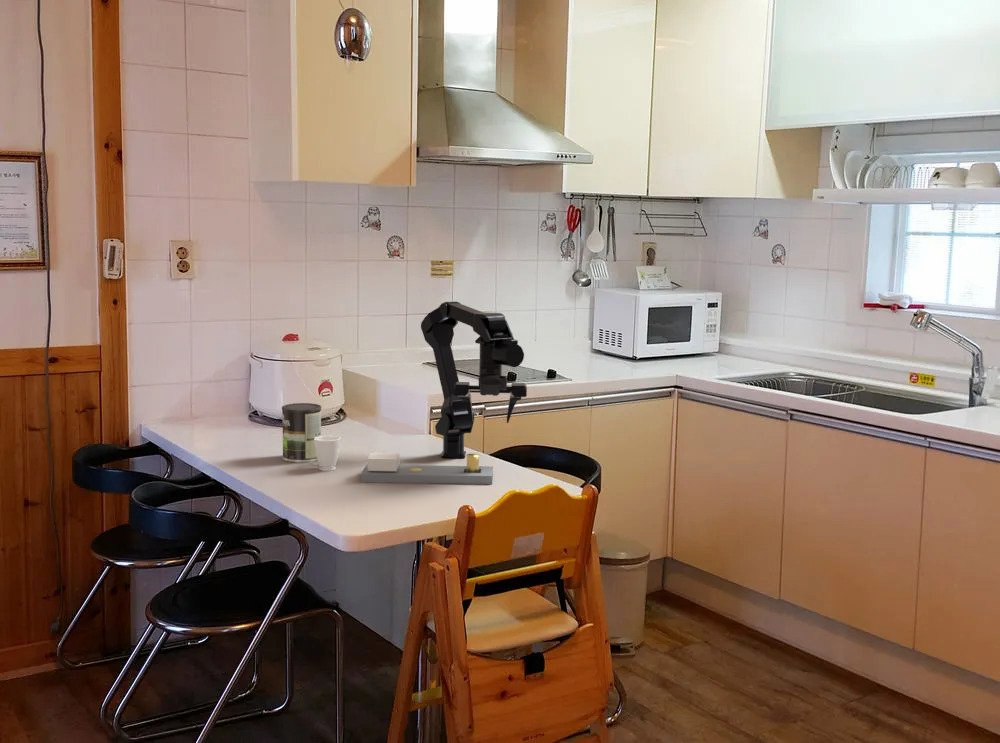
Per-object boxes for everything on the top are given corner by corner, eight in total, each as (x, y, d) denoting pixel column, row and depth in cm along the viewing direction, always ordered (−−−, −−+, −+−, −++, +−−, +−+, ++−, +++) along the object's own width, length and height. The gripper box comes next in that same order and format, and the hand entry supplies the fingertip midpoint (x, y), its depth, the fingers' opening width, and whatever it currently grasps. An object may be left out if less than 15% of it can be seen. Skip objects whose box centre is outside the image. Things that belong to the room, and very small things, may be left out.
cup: (318, 473, 258) (318, 441, 257) (306, 464, 267) (306, 434, 266) (345, 470, 262) (345, 439, 261) (332, 462, 270) (332, 432, 269)
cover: (371, 464, 259) (371, 452, 258) (399, 464, 258) (399, 453, 258) (367, 470, 252) (367, 458, 251) (396, 471, 252) (396, 459, 251)
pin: (466, 477, 257) (467, 453, 256) (478, 477, 257) (479, 453, 256) (466, 480, 254) (466, 456, 253) (478, 480, 254) (478, 456, 253)
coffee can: (285, 464, 268) (285, 410, 266) (279, 455, 277) (279, 403, 275) (325, 461, 271) (324, 408, 269) (317, 453, 281) (317, 402, 279)
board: (366, 472, 260) (366, 463, 260) (492, 474, 260) (492, 466, 260) (360, 481, 250) (360, 473, 250) (492, 484, 250) (492, 475, 250)
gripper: (452, 366, 255) (451, 427, 257) (527, 367, 255) (526, 429, 257) (454, 360, 266) (454, 419, 268) (527, 361, 266) (525, 420, 268)
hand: (489, 422), depth 265 cm, fingers open, 9 cm apart
